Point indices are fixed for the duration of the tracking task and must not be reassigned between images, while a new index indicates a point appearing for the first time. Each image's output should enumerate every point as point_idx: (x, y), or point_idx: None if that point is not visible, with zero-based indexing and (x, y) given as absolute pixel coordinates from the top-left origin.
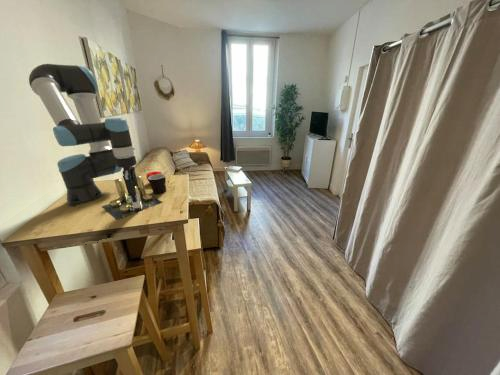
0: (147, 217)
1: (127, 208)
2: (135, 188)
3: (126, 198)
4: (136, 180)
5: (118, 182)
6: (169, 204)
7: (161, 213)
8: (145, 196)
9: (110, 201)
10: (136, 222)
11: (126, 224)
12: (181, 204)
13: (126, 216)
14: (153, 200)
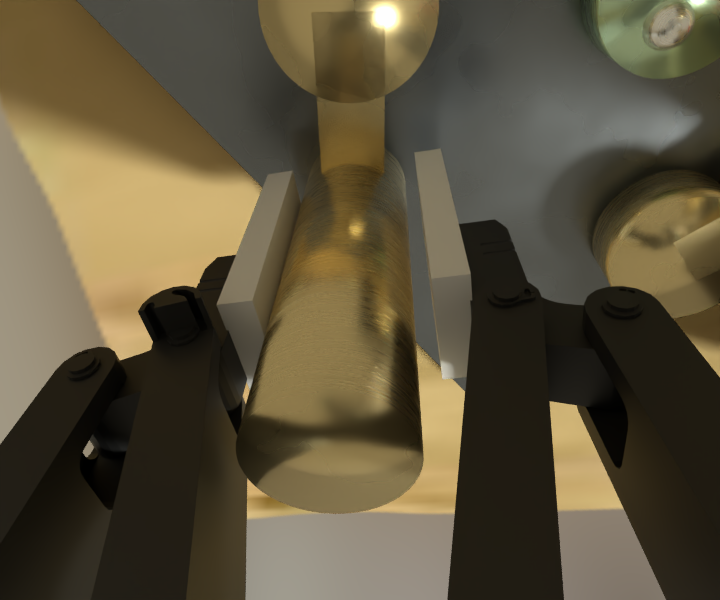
0: None
1: (290, 69)
2: (281, 485)
3: None
4: (644, 552)
5: None
6: (449, 422)
7: None
8: (651, 247)
9: None
10: (90, 208)
11: (36, 107)
12: (415, 496)
13: (155, 77)
14: (575, 300)
